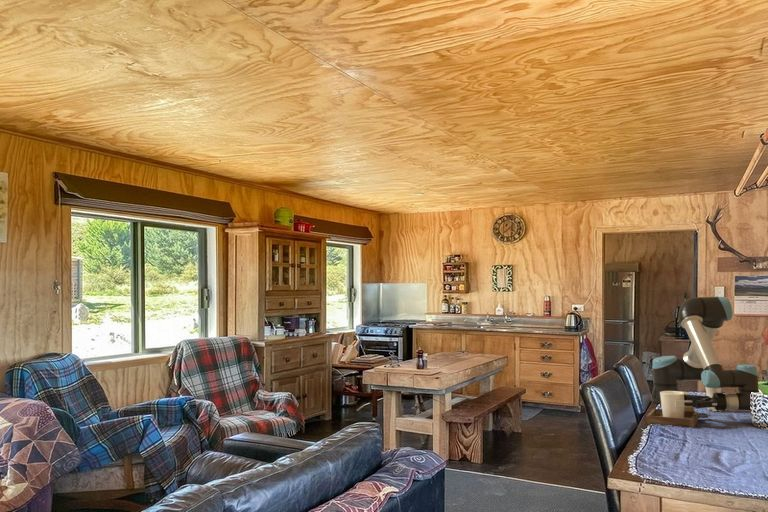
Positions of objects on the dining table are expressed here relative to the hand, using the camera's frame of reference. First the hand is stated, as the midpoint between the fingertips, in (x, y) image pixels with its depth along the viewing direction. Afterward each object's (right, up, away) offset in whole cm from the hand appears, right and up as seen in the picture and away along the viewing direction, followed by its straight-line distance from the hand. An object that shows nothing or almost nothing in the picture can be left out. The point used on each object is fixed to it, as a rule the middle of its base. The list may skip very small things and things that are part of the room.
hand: (671, 400), depth 260 cm
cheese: (+10, -10, +15) cm, 21 cm away
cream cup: (0, -8, -2) cm, 8 cm away
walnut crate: (0, -9, 0) cm, 9 cm away
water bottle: (+31, -10, +20) cm, 38 cm away
